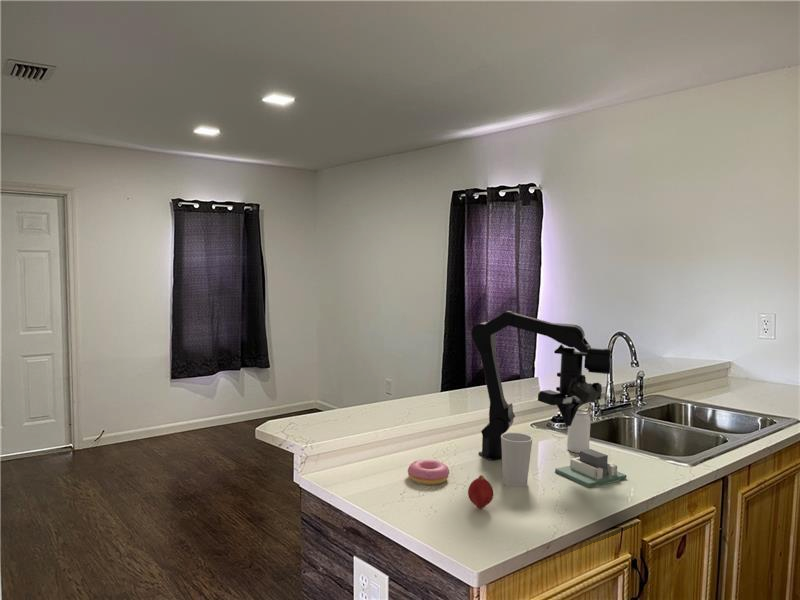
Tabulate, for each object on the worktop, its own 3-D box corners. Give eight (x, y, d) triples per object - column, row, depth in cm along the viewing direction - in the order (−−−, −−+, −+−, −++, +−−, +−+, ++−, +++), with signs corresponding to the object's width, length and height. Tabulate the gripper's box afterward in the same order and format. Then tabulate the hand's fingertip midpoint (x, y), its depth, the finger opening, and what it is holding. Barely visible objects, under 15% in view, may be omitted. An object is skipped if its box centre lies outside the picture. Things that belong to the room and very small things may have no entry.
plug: (599, 477, 156) (600, 458, 155) (579, 468, 162) (580, 450, 162) (609, 474, 158) (610, 456, 157) (589, 466, 164) (590, 448, 163)
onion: (465, 503, 139) (466, 470, 139) (489, 503, 140) (490, 470, 139) (470, 514, 134) (471, 479, 133) (495, 513, 134) (496, 479, 134)
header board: (588, 487, 151) (589, 474, 151) (555, 472, 162) (555, 459, 161) (626, 478, 158) (627, 465, 158) (591, 464, 168) (592, 452, 168)
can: (590, 454, 177) (592, 415, 176) (567, 452, 178) (569, 413, 178) (587, 448, 183) (589, 410, 183) (566, 446, 185) (567, 408, 184)
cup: (532, 479, 156) (534, 434, 155) (528, 490, 148) (530, 443, 147) (502, 475, 158) (503, 431, 158) (496, 485, 151) (498, 439, 150)
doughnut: (401, 474, 158) (401, 459, 158) (438, 469, 162) (439, 455, 161) (416, 489, 148) (417, 473, 147) (456, 484, 152) (457, 468, 151)
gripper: (567, 378, 153) (564, 437, 154) (617, 373, 162) (614, 429, 163) (537, 370, 162) (535, 426, 163) (586, 366, 171) (583, 419, 173)
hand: (568, 425), depth 165 cm, fingers closed
